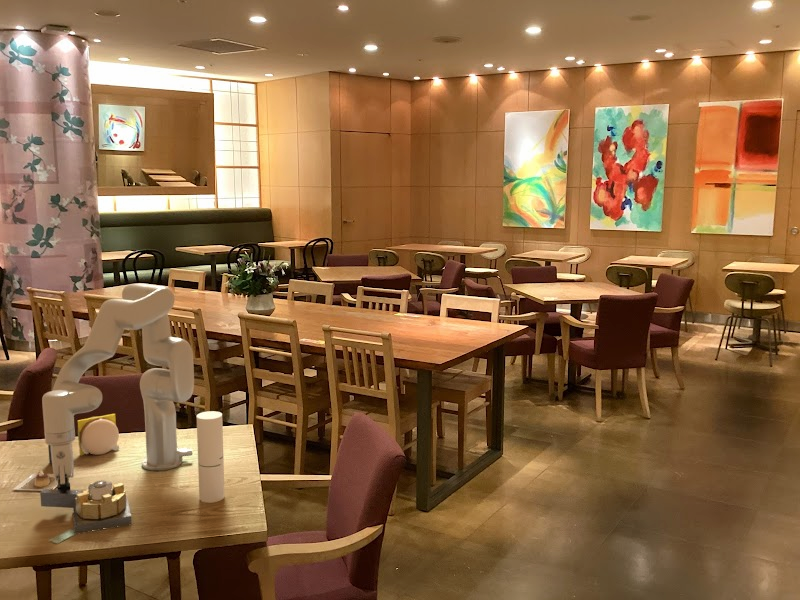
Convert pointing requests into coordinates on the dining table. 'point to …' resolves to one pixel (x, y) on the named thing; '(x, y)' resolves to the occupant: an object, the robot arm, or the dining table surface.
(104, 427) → the hamburger
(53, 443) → the robot arm
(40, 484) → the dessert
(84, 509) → the ring nut
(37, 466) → the dining table surface
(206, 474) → the cylindrical container
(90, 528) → the housing
